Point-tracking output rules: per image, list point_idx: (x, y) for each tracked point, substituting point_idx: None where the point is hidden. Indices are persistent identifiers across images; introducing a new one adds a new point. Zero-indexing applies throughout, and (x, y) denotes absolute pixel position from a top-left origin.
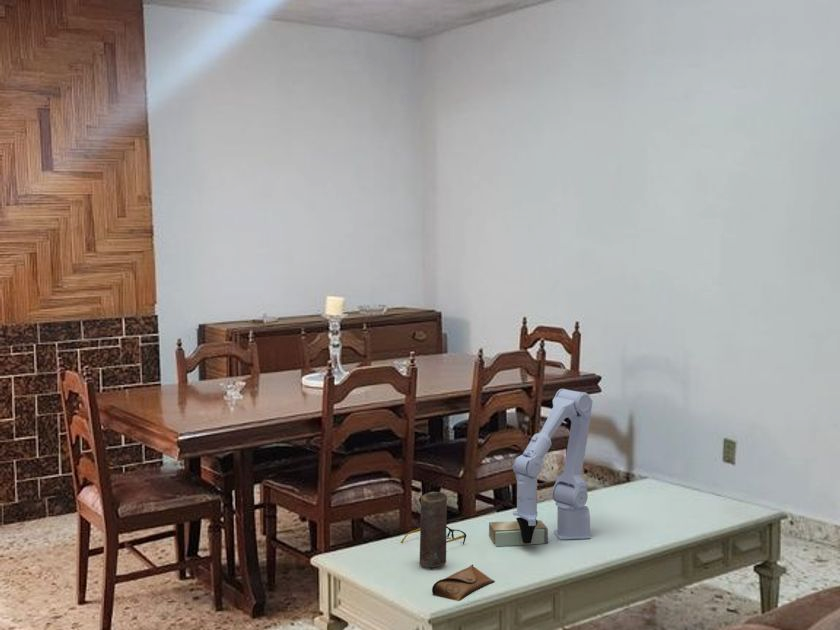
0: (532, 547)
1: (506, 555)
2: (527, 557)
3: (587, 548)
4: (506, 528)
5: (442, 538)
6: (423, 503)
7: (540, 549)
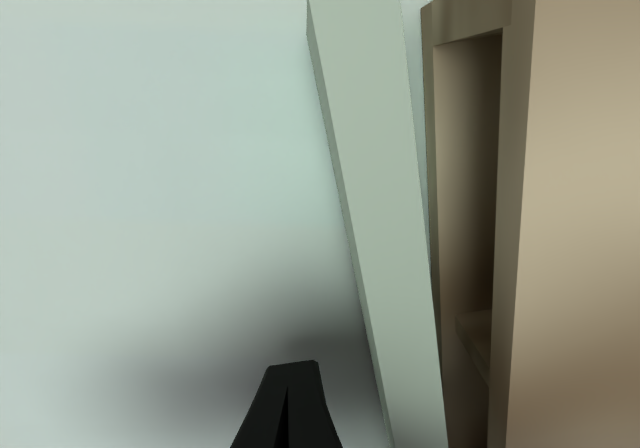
0: None
1: (13, 159)
2: (24, 350)
3: None
4: (603, 246)
5: None
6: None
7: None
